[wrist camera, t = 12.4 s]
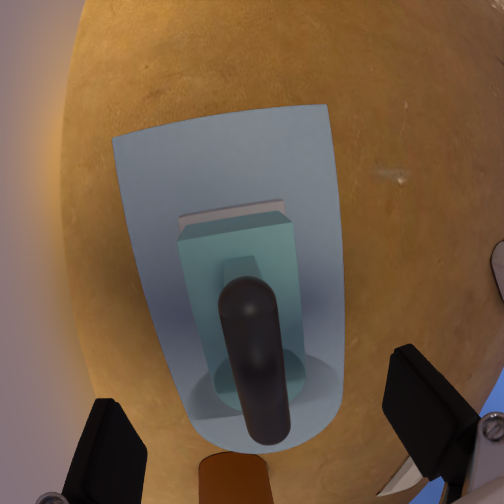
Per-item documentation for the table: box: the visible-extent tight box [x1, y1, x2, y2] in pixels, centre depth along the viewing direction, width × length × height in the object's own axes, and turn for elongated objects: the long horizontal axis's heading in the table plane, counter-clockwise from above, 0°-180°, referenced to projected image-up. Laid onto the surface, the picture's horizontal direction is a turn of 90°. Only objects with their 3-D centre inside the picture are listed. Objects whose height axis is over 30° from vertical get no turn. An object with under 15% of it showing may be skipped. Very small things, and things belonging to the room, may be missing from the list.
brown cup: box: [199, 452, 274, 504], centre depth 27 cm, size 9×12×9 cm
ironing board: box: [112, 104, 345, 454], centre depth 22 cm, size 13×28×5 cm, turn 8°
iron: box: [177, 199, 307, 446], centre depth 15 cm, size 12×6×9 cm, turn 8°
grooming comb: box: [377, 457, 423, 497], centre depth 37 cm, size 18×10×1 cm, turn 174°
